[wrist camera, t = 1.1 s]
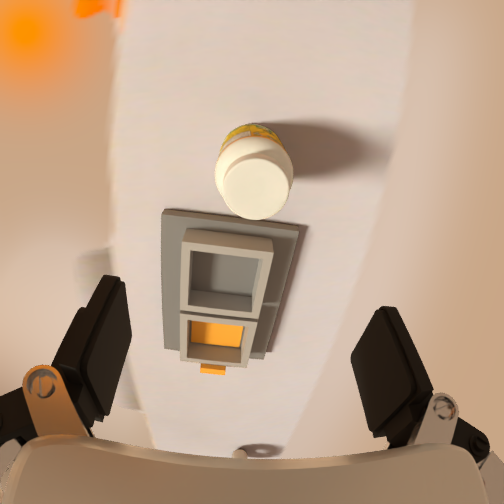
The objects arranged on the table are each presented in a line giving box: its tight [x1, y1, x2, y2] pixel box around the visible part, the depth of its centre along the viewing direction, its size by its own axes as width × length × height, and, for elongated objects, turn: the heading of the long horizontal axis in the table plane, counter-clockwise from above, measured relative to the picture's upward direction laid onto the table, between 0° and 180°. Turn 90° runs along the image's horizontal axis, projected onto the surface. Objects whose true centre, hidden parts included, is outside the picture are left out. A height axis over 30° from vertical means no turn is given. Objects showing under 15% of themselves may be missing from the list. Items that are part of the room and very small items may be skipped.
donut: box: [232, 449, 247, 459], centre depth 55 cm, size 10×4×10 cm, turn 179°
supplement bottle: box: [215, 124, 293, 220], centre depth 22 cm, size 5×5×10 cm
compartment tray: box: [161, 209, 299, 375], centre depth 32 cm, size 19×13×4 cm
